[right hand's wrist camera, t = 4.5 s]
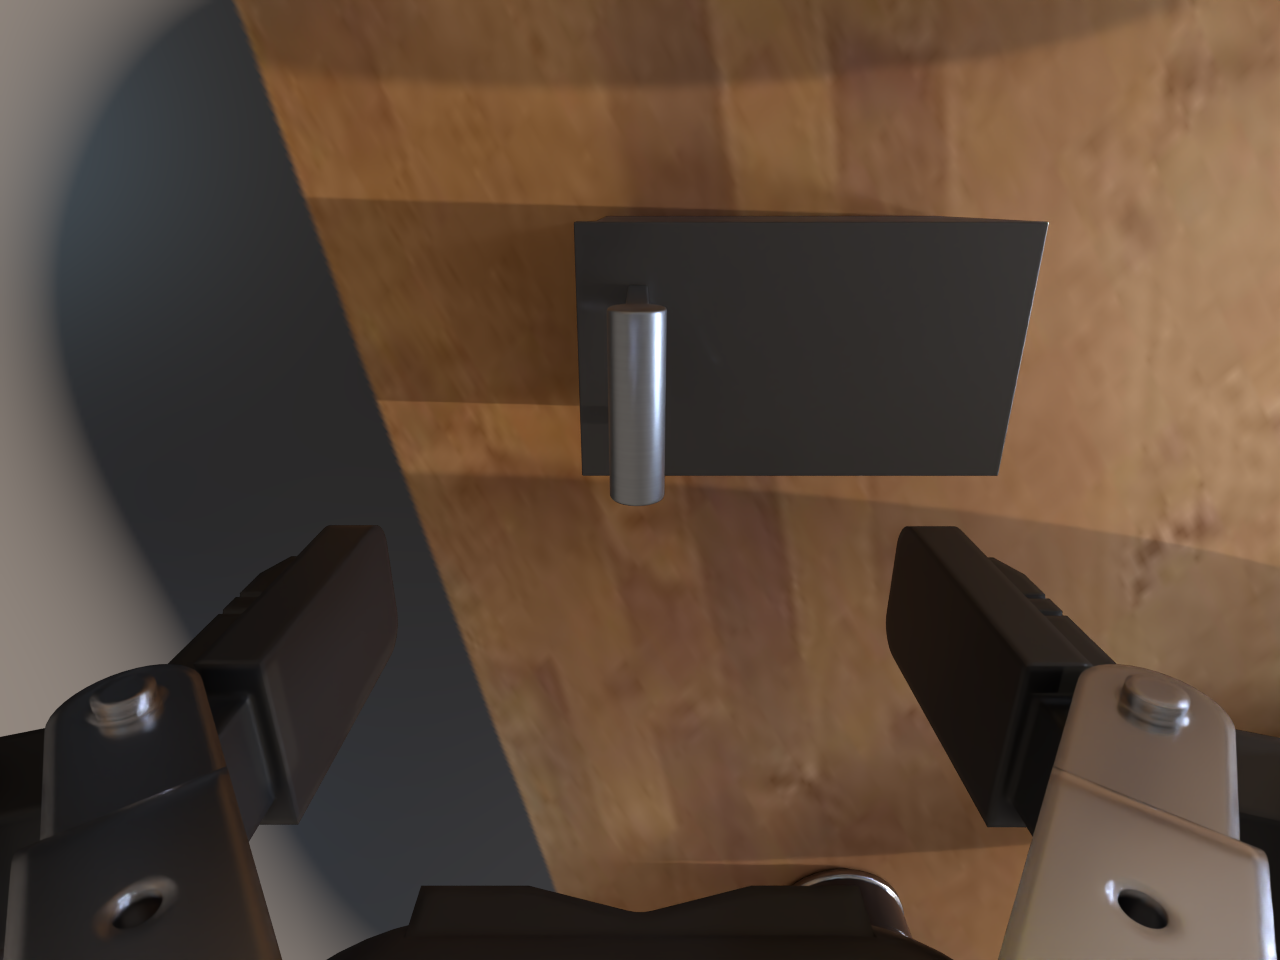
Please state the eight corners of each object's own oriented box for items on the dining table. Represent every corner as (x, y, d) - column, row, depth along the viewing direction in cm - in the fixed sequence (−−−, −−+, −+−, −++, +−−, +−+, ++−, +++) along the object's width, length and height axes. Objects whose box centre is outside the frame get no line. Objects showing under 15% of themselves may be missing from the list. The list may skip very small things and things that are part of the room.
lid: (583, 468, 29) (562, 567, 21) (576, 221, 26) (546, 230, 18) (988, 468, 29) (1117, 568, 21) (1036, 221, 26) (1213, 230, 18)
